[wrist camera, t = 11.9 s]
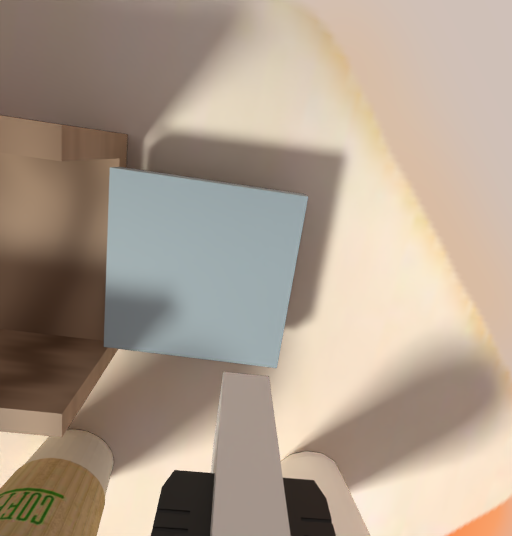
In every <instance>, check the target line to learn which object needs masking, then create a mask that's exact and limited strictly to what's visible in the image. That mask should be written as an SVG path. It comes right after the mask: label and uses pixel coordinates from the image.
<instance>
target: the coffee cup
mask: <svg viewBox="0 0 512 536" xmlns="http://www.w3.org/2000/svg"><path fill="white" fill-rule="evenodd" d="M113 461H114V459H113V455H112V452H111V450H110V448H109V447H108V445H107V444H106V443H105V442H104V441H103V440H102V439H101V438H99V437H98V436H96V435H94V434H92V433H90V432H87V431H83V430H75V429H71V430H66V432H65V433H64V435H63V437H55V436H50V437H49V438H48V439H47V440H46V441H45V442H44V443H43V444H42V445H41V446H40V448H39V449H38V450H37V451H36V452H35V453H34V454H33V455H32V457H31V458H30V459H29V460H28V461H27V462H26V463H25V464H24V465H23V466H22V467H20V468H19V469H18V470H17V471H16V472H15V473H14V474H13V475H12V476H11V477H10V478H9V480H8V481H7V482H6V483H5V484H4V485H3V486H2V487H1V488H0V536H96V535H97V532H98V528H99V524H100V520H101V516H102V512H103V509H104V505H105V494H106V490H107V487H108V483H109V479H110V476H111V472H112V468H113Z"/></svg>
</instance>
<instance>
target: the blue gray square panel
mask: <svg viewBox="0 0 512 536" xmlns="http://www.w3.org/2000/svg"><path fill="white" fill-rule="evenodd" d="M307 201H308V196H307V195H305V194H300V193H294V192H287V191H280V190H273V189H267V188H260V187H253V186H246V185H240V184H233V183H226V182H219V181H212V180H206V179H199V178H192V177H185V176H179V175H172V174H165V173H158V172H152V171H145V170H138V169H131V168H125V167H110V176H109V205H108V235H107V264H106V294H105V323H104V347H108V348H116V349H124V350H133V351H141V352H149V353H157V354H165V355H174V356H182V357H190V358H198V359H206V360H214V361H223V362H231V363H239V364H247V365H255V366H263V367H272V368H277V364H278V359H279V353H280V348H281V343H282V337H283V332H284V326H285V321H286V315H287V310H288V304H289V299H290V294H291V288H292V283H293V277H294V272H295V266H296V261H297V255H298V250H299V245H300V239H301V234H302V228H303V223H304V217H305V212H306V206H307Z"/></svg>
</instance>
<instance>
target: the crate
mask: <svg viewBox="0 0 512 536" xmlns="http://www.w3.org/2000/svg"><path fill="white" fill-rule="evenodd" d="M127 137H128V135H127V134H121V133H114V132H108V131H101V130H95V129H88V128H81V127H75V126H68V125H62V124H55V123H49V122H42V121H36V120H29V119H22V118H16V117H9V116H3V115H0V431H2V432H13V433H23V434H34V435H44V436H55V437H63V435H64V433H65V432H66V430H67V429H68V427H69V426H70V424H71V422H72V421H73V419H74V418H75V416H76V414H77V413H78V411H79V410H80V408H81V407H82V405H83V403H84V402H85V400H86V399H87V397H88V396H89V394H90V392H91V391H92V389H93V388H94V386H95V385H96V383H97V381H98V380H99V378H100V377H101V375H102V374H103V372H104V370H105V369H106V367H107V366H108V364H109V363H110V361H111V359H112V358H113V356H114V355H115V353H116V352H117V350H118V349H116V348H108V347H104V323H105V294H106V264H107V235H108V205H109V176H110V167H125V168H126V159H127Z"/></svg>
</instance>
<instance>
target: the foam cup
mask: <svg viewBox="0 0 512 536" xmlns="http://www.w3.org/2000/svg"><path fill="white" fill-rule="evenodd" d="M281 469H282V476H283V478H294V479H306V480H314V481H315V482H316V484H317V485H318V487H319V488H320V490H321V491H322V493H323V494H324V496H325V497H326V499H327V503H328V507H329V511H330V515H331V519H332V524H333V527H334V530H335V534H336V536H370V533H369V531H368V529H367V527H366V525H365V523H364V521H363V519H362V517H361V514H360V512H359V510H358V508H357V506H356V504H355V502H354V500H353V498H352V495H351V493H350V491H349V489H348V487H347V485H346V483H345V481H344V479H343V477H342V475H341V473H340V471H339V469H338V467H337V465H336V464H335V462H334V461H333V460H332V459H330V458H328V457H327V456H325V455H324V454H322V453H316V452H309V451H305V452H300V453H296V454H291V455H289V456H288V457H286V458H285V459H284V460H282V461H281Z"/></svg>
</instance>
